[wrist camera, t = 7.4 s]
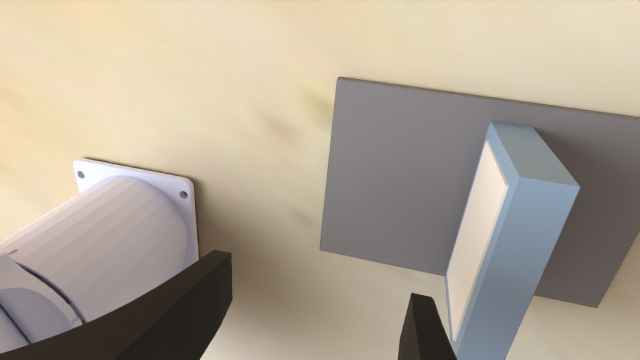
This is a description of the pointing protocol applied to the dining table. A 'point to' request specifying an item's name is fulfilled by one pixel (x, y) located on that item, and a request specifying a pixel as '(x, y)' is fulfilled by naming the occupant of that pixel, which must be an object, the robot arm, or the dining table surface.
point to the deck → (504, 239)
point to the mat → (457, 176)
